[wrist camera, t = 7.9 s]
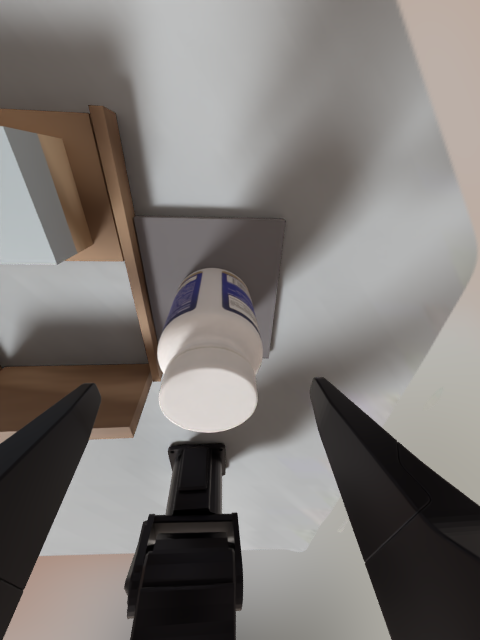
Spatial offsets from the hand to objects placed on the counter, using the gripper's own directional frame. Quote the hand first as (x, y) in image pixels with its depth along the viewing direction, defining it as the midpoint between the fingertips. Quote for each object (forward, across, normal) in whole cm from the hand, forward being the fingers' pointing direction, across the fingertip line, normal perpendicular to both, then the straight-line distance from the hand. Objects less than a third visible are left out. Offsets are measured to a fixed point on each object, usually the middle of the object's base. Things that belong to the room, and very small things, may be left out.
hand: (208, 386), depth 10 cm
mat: (+9, 0, 0) cm, 9 cm away
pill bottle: (+8, 0, 0) cm, 8 cm away
